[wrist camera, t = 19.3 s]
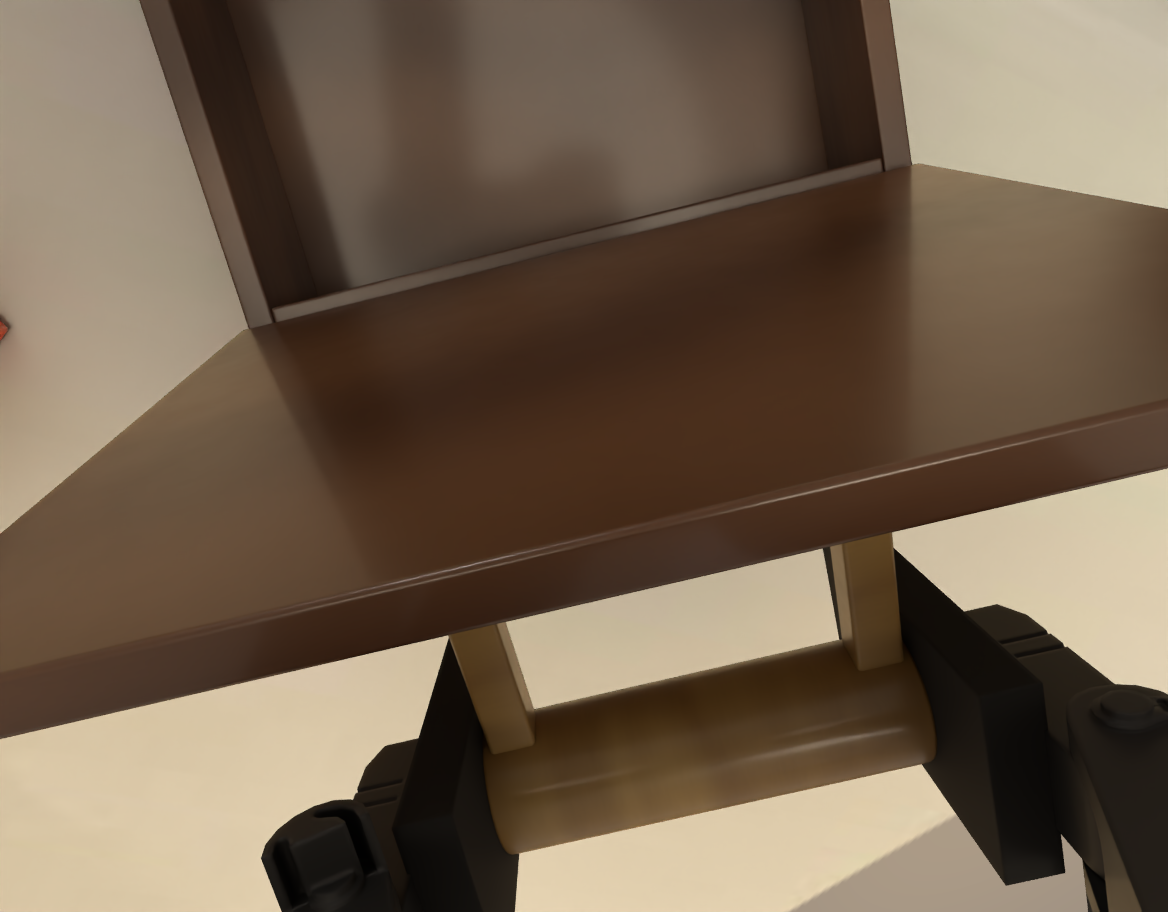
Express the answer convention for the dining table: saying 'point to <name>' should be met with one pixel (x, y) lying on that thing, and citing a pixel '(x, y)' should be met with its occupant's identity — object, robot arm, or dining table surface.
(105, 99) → the dining table surface
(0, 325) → the cracker box
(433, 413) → the chest lid
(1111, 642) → the dining table surface
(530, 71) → the chest
